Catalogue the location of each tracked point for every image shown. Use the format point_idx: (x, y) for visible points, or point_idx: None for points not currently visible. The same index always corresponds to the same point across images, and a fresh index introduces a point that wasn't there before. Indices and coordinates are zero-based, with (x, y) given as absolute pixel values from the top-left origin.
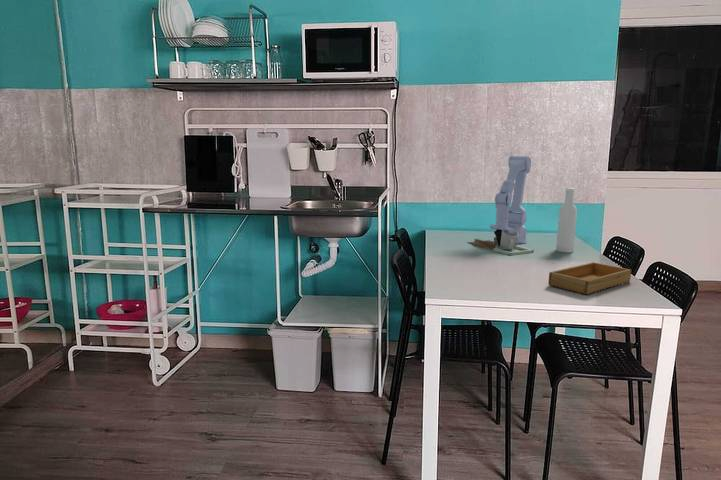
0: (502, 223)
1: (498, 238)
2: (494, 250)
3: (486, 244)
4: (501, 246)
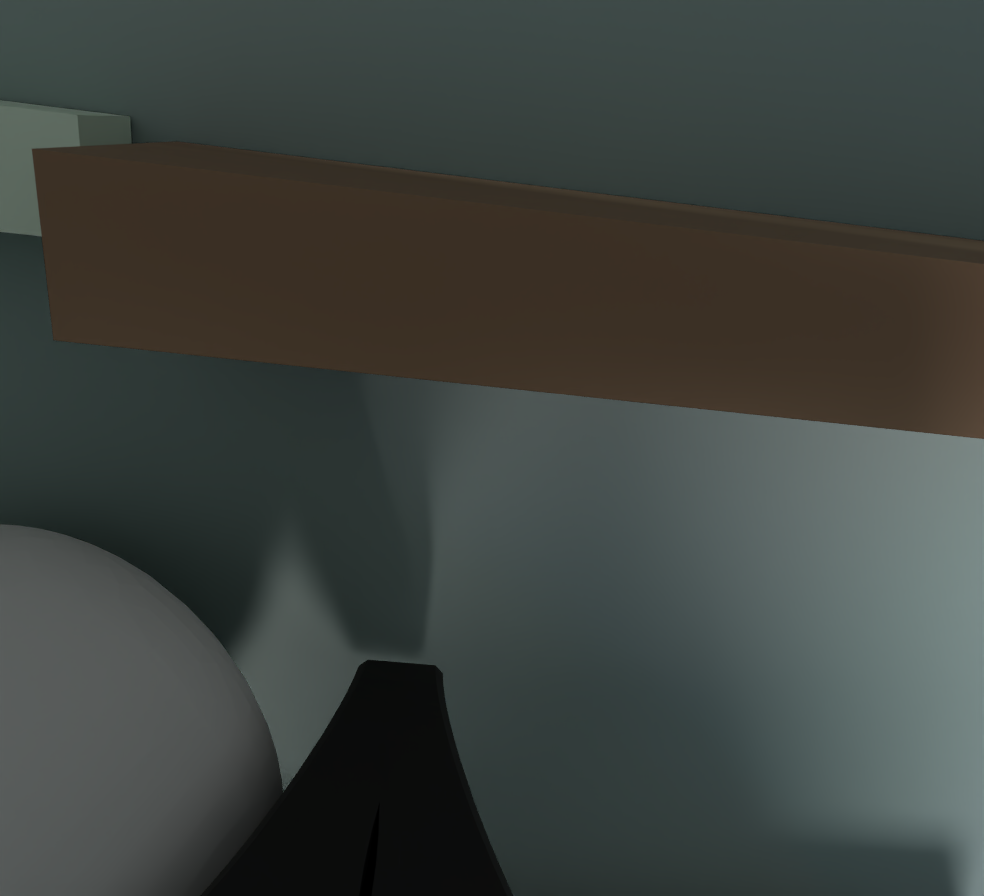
0: None
1: (321, 879)
2: (62, 110)
3: (645, 215)
4: (65, 540)
